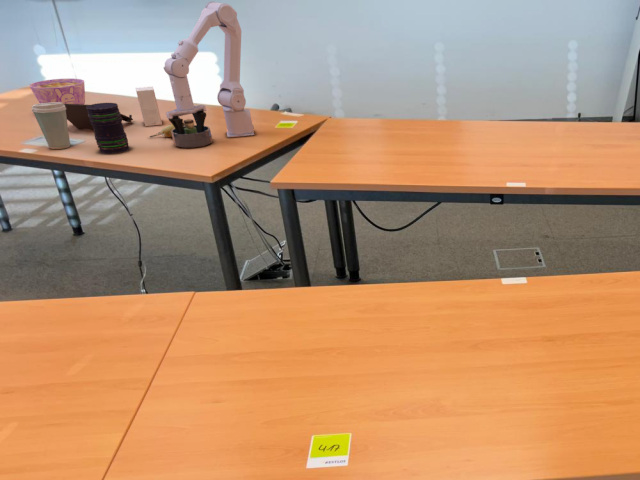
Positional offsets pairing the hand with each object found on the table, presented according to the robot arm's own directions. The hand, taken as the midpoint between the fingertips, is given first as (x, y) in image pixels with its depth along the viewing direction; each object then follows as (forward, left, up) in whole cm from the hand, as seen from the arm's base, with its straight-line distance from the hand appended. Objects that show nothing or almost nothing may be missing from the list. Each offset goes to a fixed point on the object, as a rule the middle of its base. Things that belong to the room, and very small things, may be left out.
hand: (192, 135), depth 260 cm
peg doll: (0, 0, -2) cm, 2 cm away
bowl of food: (+48, -72, -3) cm, 87 cm away
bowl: (0, 0, -3) cm, 3 cm away
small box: (+14, -38, -3) cm, 41 cm away
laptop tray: (+34, -40, -3) cm, 53 cm away
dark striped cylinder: (+26, -1, -3) cm, 26 cm away
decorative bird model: (+8, -14, -3) cm, 17 cm away
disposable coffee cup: (+44, -13, -3) cm, 46 cm away
